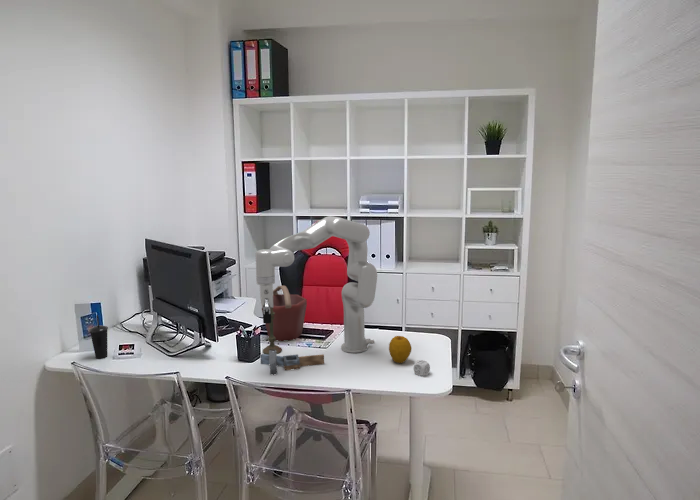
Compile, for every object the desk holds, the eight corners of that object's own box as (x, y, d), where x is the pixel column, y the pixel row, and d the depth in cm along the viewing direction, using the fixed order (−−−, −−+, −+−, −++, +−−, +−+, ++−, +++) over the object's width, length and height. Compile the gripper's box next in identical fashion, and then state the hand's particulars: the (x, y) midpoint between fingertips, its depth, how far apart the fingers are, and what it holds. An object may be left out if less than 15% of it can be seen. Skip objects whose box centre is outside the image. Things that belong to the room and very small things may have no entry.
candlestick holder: (278, 355, 231) (275, 292, 226) (259, 354, 233) (256, 291, 227) (284, 348, 240) (282, 286, 234) (266, 346, 242) (263, 286, 236)
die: (430, 373, 210) (430, 362, 209) (423, 377, 206) (423, 365, 206) (420, 370, 213) (420, 358, 212) (413, 373, 210) (413, 362, 209)
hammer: (321, 356, 229) (321, 348, 228) (325, 366, 218) (325, 357, 218) (260, 362, 223) (260, 353, 223) (261, 372, 213) (261, 363, 212)
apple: (414, 359, 224) (414, 334, 222) (405, 367, 216) (406, 341, 214) (394, 355, 229) (394, 331, 227) (385, 363, 220) (385, 337, 218)
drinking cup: (114, 355, 234) (110, 313, 230) (100, 361, 227) (95, 318, 224) (103, 352, 237) (98, 311, 234) (88, 358, 230) (83, 316, 227)
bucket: (265, 328, 268) (263, 282, 263) (306, 326, 270) (305, 280, 266) (262, 345, 244) (260, 295, 239) (308, 342, 246) (306, 293, 242)
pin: (277, 371, 214) (276, 349, 212) (277, 374, 211) (276, 351, 209) (269, 372, 213) (268, 349, 211) (270, 375, 210) (269, 352, 209)
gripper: (275, 284, 200) (276, 325, 204) (274, 274, 217) (275, 312, 220) (256, 285, 199) (257, 326, 202) (256, 275, 216) (257, 313, 219)
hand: (266, 319), depth 211 cm, fingers open, 9 cm apart
